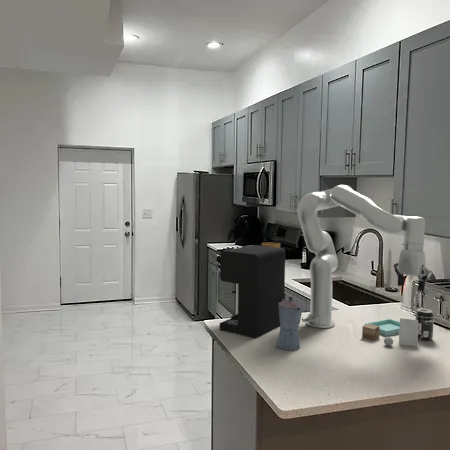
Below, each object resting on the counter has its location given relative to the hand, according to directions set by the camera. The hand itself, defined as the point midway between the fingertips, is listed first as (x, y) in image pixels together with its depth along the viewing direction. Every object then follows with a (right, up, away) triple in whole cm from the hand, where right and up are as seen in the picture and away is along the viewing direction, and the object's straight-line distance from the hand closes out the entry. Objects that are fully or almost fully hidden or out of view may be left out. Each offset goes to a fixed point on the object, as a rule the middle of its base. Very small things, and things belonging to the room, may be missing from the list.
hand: (410, 288), depth 189 cm
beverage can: (+6, -21, +2) cm, 22 cm away
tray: (-5, -20, +13) cm, 24 cm away
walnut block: (-16, -21, +2) cm, 26 cm away
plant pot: (-39, -5, +181) cm, 185 cm away
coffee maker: (-63, -19, +16) cm, 68 cm away
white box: (-3, -22, -5) cm, 23 cm away
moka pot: (-52, -22, -10) cm, 57 cm away
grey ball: (-12, -22, -7) cm, 26 cm away
